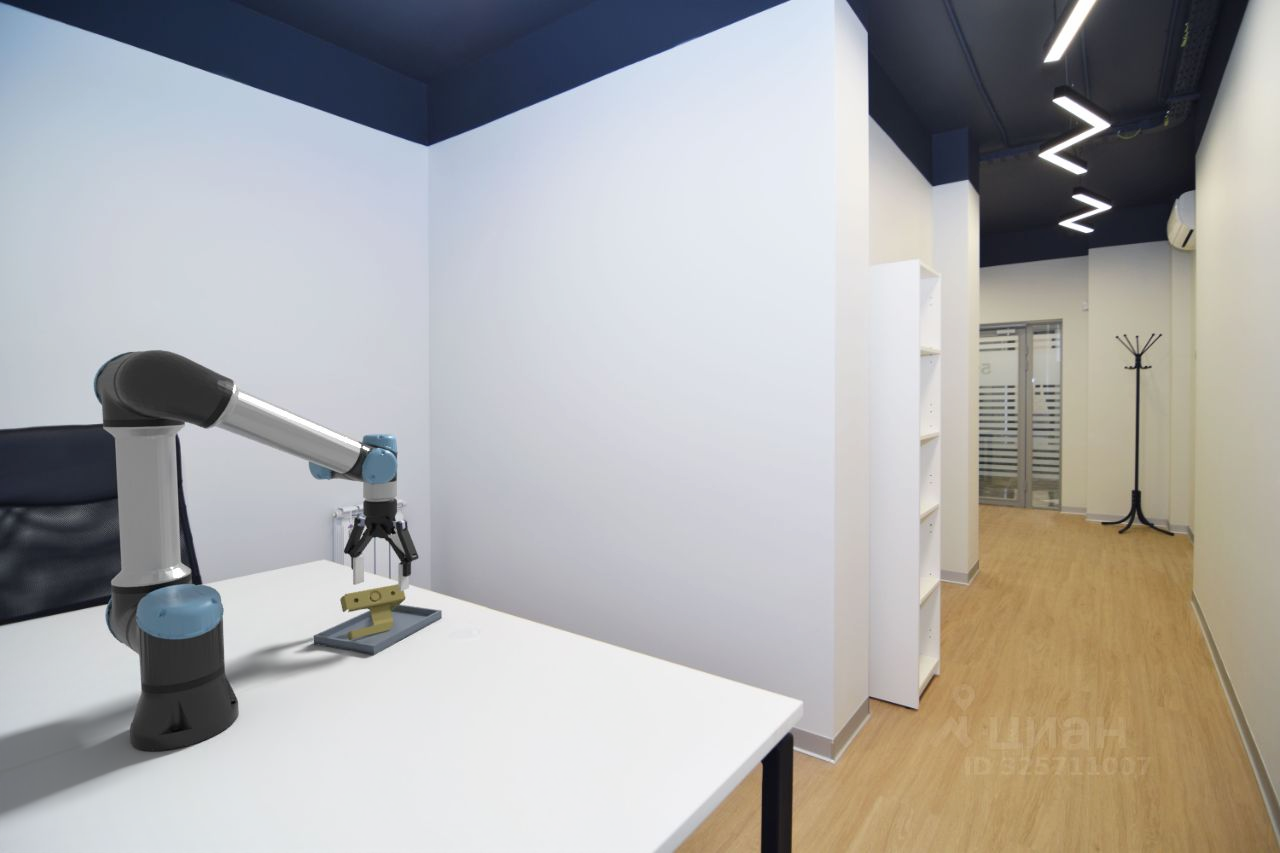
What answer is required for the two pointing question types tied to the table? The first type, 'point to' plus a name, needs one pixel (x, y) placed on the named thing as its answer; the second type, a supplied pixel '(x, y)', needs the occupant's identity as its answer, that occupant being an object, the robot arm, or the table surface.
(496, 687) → the table surface
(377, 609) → the bracket
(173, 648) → the robot arm
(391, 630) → the tray
